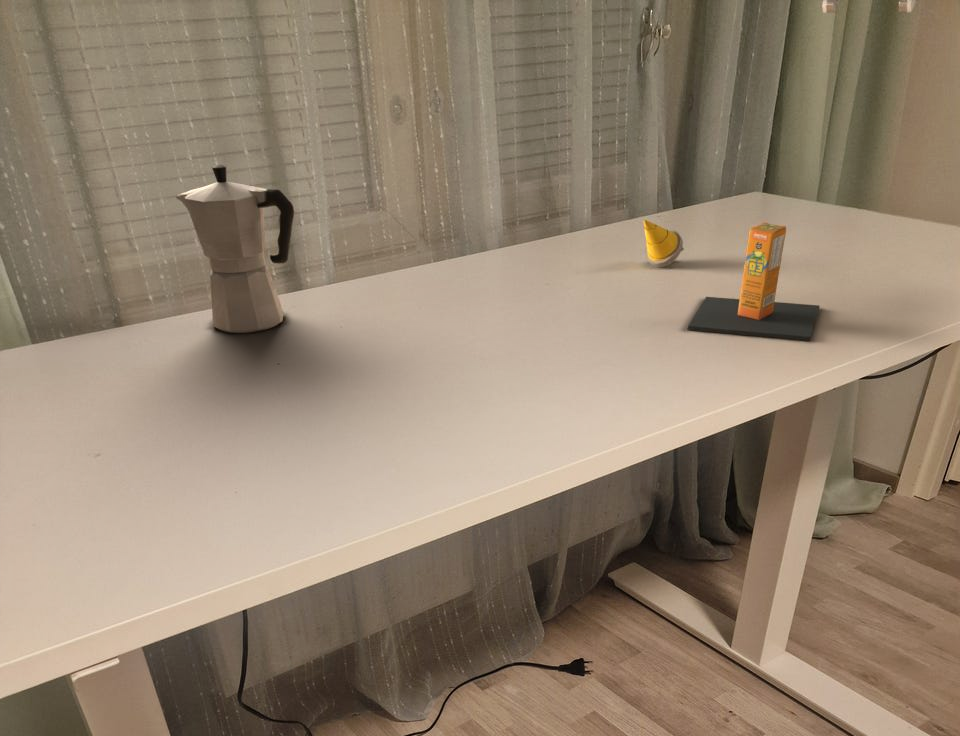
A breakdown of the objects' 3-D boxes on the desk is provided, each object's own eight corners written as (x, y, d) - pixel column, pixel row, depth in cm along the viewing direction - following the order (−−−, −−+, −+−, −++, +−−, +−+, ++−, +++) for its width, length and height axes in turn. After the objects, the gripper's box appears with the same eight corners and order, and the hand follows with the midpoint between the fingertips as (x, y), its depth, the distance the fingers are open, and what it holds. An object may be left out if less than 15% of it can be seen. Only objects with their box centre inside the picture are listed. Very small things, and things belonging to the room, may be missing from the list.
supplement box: (734, 316, 105) (747, 227, 98) (750, 309, 106) (763, 221, 100) (758, 321, 103) (773, 231, 97) (774, 314, 105) (789, 225, 98)
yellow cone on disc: (691, 270, 124) (662, 228, 116) (656, 283, 127) (626, 243, 119) (690, 239, 125) (661, 195, 118) (656, 253, 128) (626, 211, 121)
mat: (818, 309, 107) (819, 305, 107) (809, 341, 98) (810, 336, 98) (705, 300, 111) (706, 296, 111) (687, 330, 103) (687, 325, 102)
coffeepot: (184, 329, 109) (146, 171, 98) (223, 307, 116) (192, 156, 105) (293, 338, 105) (266, 173, 94) (327, 314, 112) (305, 158, 101)
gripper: (822, -109, 111) (782, -12, 111) (996, -122, 102) (952, -15, 102) (825, -65, 117) (787, 28, 117) (990, -73, 107) (949, 29, 107)
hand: (865, 8), depth 109 cm, fingers open, 8 cm apart
